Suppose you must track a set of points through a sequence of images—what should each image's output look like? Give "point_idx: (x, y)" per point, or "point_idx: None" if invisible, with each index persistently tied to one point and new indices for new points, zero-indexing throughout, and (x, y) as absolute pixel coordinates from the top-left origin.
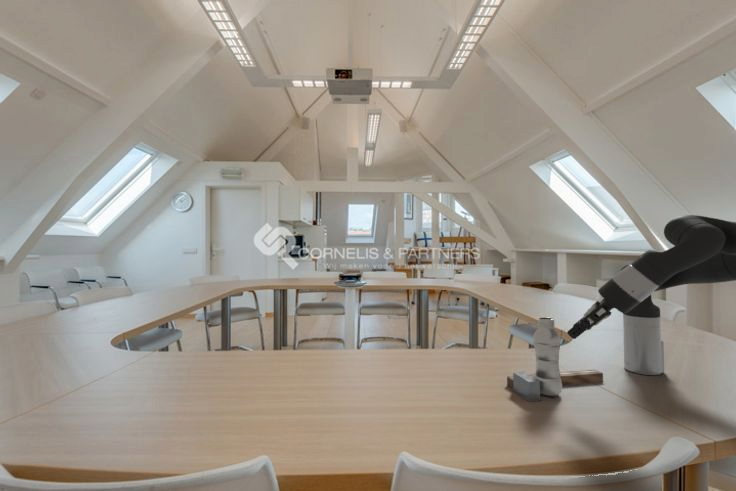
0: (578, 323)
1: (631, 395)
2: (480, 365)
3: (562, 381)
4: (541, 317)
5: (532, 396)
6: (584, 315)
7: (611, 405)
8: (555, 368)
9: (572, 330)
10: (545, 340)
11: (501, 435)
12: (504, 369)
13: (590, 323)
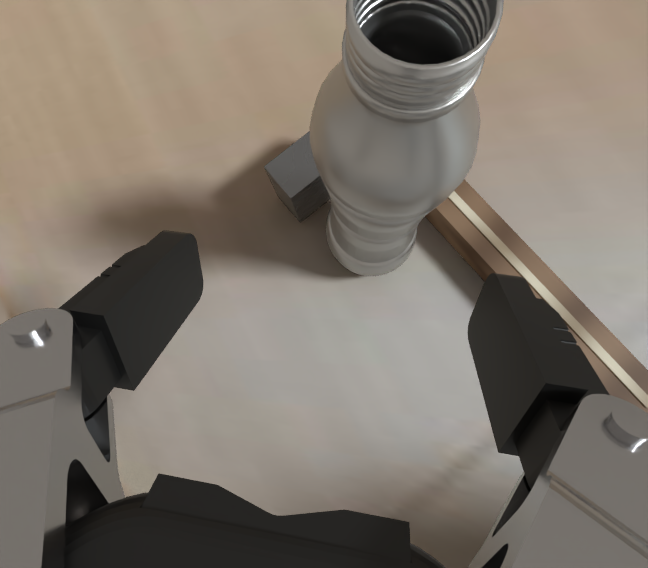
0: (73, 313)
1: (503, 500)
2: (542, 3)
3: (487, 276)
4: None
5: (281, 197)
6: (22, 401)
7: (368, 422)
8: (347, 236)
9: (114, 265)
10: (311, 129)
11: (54, 164)
12: (545, 83)
13: (506, 452)
